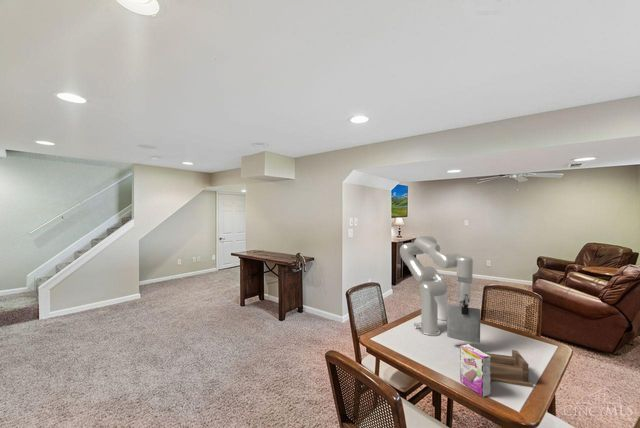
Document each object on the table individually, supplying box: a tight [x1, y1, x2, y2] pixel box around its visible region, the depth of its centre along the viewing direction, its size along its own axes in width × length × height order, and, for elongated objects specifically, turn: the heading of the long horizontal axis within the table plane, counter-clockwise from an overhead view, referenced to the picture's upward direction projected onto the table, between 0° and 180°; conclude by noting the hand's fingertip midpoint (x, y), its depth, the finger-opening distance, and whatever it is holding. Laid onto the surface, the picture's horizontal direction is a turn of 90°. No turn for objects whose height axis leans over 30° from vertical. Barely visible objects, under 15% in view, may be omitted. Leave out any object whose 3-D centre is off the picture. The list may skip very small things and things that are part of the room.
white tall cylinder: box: [435, 275, 449, 321], centre depth 190 cm, size 10×10×30 cm
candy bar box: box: [459, 343, 492, 398], centre depth 114 cm, size 11×5×16 cm, turn 21°
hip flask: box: [446, 302, 482, 344], centre depth 146 cm, size 16×4×20 cm, turn 64°
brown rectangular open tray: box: [484, 349, 534, 388], centre depth 125 cm, size 15×24×9 cm, turn 73°
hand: (463, 312), depth 146 cm, fingers closed on hip flask, 4 cm apart
